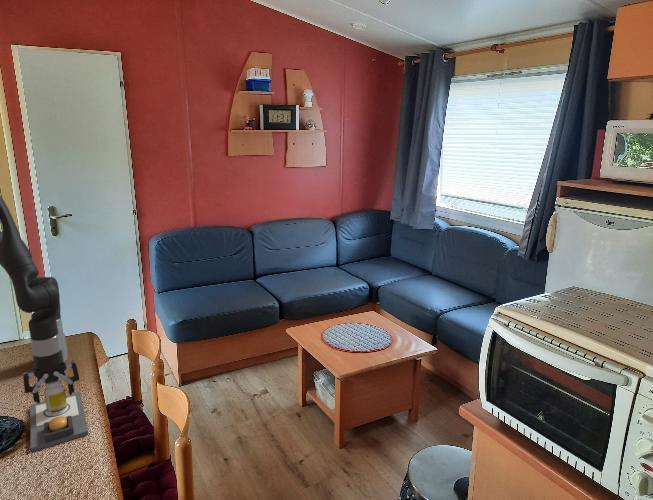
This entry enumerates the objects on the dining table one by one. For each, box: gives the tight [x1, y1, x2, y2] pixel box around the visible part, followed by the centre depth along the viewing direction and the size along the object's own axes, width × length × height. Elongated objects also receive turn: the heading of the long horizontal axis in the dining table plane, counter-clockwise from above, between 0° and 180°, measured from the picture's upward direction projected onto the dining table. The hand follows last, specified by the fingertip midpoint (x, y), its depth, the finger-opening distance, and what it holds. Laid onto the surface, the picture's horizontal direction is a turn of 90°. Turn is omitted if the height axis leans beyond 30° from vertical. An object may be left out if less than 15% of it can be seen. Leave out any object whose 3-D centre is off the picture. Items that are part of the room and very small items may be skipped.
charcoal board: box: [29, 391, 89, 453], centre depth 139 cm, size 24×14×3 cm, turn 32°
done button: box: [49, 416, 67, 432], centre depth 132 cm, size 4×4×2 cm
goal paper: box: [36, 396, 79, 427], centre depth 142 cm, size 12×11×1 cm
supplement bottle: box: [43, 379, 67, 414], centre depth 141 cm, size 5×5×10 cm
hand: (54, 398), depth 141 cm, fingers open, 8 cm apart
